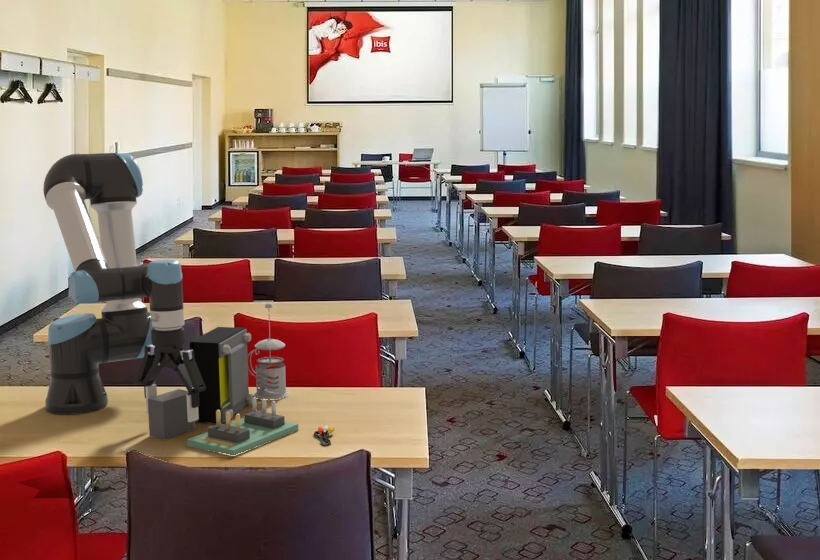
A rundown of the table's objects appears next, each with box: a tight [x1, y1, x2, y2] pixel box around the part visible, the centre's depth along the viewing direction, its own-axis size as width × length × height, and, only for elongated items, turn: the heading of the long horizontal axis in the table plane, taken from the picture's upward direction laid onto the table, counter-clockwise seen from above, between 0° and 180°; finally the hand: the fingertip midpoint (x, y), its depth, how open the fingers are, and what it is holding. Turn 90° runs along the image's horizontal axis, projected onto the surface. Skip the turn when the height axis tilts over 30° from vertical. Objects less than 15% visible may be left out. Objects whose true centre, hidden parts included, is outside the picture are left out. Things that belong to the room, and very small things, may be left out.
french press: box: [247, 302, 290, 400], centre depth 252 cm, size 10×12×25 cm
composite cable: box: [313, 424, 336, 447], centre depth 218 cm, size 10×5×2 cm, turn 0°
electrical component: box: [189, 326, 254, 425], centre depth 237 cm, size 18×10×20 cm, turn 168°
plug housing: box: [148, 388, 196, 441], centre depth 223 cm, size 10×5×9 cm, turn 147°
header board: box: [186, 397, 299, 455], centre depth 219 cm, size 14×22×8 cm, turn 147°
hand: (172, 416), depth 222 cm, fingers open, 13 cm apart
